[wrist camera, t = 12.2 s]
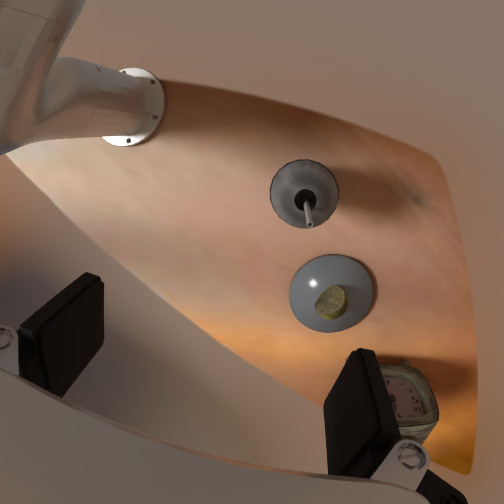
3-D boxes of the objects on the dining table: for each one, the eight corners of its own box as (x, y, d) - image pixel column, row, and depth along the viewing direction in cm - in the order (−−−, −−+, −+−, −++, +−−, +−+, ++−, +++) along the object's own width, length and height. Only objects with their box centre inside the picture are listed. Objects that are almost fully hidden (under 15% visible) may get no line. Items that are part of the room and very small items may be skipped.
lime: (312, 305, 48) (313, 322, 43) (323, 277, 46) (326, 292, 42) (338, 312, 48) (342, 330, 43) (350, 286, 46) (355, 301, 42)
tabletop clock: (416, 354, 50) (460, 462, 26) (399, 390, 53) (428, 495, 29) (342, 348, 51) (359, 470, 28) (329, 386, 54) (336, 502, 31)
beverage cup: (323, 152, 42) (345, 156, 23) (331, 203, 44) (358, 247, 25) (271, 161, 43) (252, 172, 24) (281, 211, 45) (270, 260, 26)
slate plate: (275, 309, 50) (274, 312, 49) (315, 239, 46) (315, 241, 45) (343, 340, 51) (344, 343, 50) (387, 277, 46) (388, 279, 45)
